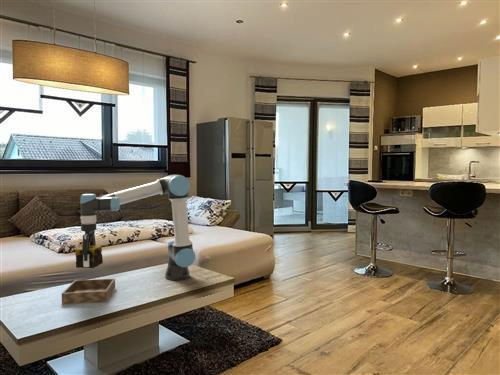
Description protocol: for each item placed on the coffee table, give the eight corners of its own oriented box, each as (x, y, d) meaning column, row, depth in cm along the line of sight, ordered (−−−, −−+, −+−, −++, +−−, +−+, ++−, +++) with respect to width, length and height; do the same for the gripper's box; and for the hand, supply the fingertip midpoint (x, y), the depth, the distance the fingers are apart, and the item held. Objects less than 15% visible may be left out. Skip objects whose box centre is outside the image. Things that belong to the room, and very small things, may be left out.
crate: (115, 288, 214) (115, 278, 214) (106, 302, 193) (106, 291, 192) (75, 289, 211) (75, 280, 210) (61, 304, 189) (61, 293, 189)
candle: (103, 263, 205) (102, 245, 205) (94, 268, 195) (93, 249, 195) (85, 262, 206) (84, 244, 205) (75, 268, 196) (74, 249, 195)
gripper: (87, 219, 210) (88, 258, 211) (74, 226, 187) (75, 270, 188) (101, 219, 211) (102, 258, 213) (90, 226, 188) (90, 269, 190)
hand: (89, 263), depth 201 cm, fingers closed on candle, 11 cm apart
